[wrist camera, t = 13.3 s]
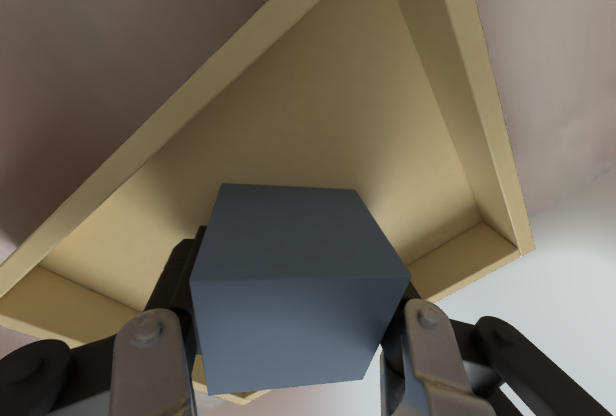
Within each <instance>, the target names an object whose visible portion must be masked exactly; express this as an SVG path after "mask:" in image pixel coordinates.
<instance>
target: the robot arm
mask: <svg viewBox="0 0 616 416" xmlns="http://www.w3.org/2000/svg"><path fill="white" fill-rule="evenodd" d="M206 228H207V225H200V226H199V228H198V231H197V233H196V236H195V239H183V240H182V241H181V242H179V243H178V244H177V245H176V246H175V247H174V248H173V250H172V252H171V254H170V256H169V258H168V261H167V262H166V264H165V266H164V270H163V271H162V273H161V275H160V277H159V279H158V281H157V283H156V285H155V288H154V290H153V292H152V294H151V296H150V298H149V300H148V302H147V304H146V306H145V309H144V310H143V312H142V313H140V314H138V315H136V316H135V317H133V318H132V319H130V320H129V321H128V322H127V323H126V324H125V325H124V326H123V327H122V328H121V329H120V330H119V332H118V333H117V334H114V335H112V336H110V337H107V338H104V339H101V340H98V341H95V342H91V343H88V344H85V345H82V346H78V347H75V348H72V349H70V347H69V346H68V345H67V344H66V343H65V342H64V341H62V340H58V339H45V340H40V341H36V342H33V343H30V344H28V345H25V346H23V347H21V348H19V349H17V350H15V351H13V352H11V353H10V354H8V355H7V356H5V357H4V358H2V359H1V360H0V416H198V413H197V406H196V400H195V393H194V387H193V381H192V370H193V366H194V362H195V357H196V355H201V350H200V344H199V338H198V332H197V326H196V320H195V314H194V308H193V302H192V296H191V290H190V284H189V279H190V276H191V273H192V270H193V267H194V264H195V261H196V258H197V255H198V252H199V249H200V246H201V243H202V240H203V237H204V234H205V231H206ZM380 344H381V346H382V349H383V350H382V352H381V355H380V385H381V386H380V387H381V416H523V415H522V414H521V413H520V411H519V410H518V409H517V408H516V407H515V406H514V404H513V403H512V402H511V401H510V400H509V399H508V398H507V396H506V395H505V394H504V393H503V392H502V391H501V390H500V388H499V387H500V386H501V385H503V384H504V383H505V382H506V383H507V384H508V385H509V386H510V387H511V388H512V389H513V391H514V392H515V393H516V394H517V395H518V396H519V397H520V398H521V399H522V401H523V402H524V403H525V404H526V405H527V406H528V407H529V408H530V409H531V410H532V412H533V413H534V414H535V415H536V416H613V415H612V414H610V412H608V411H607V410H606V409H605V408H604V407H603V406H602V405H601V404H599V403H598V402H597V401H596V400H595V399H594V398H593V397H592V396H590V395H589V394H588V393H587V392H586V391H585V390H584V389H583V388H582V387H580V386H579V385H578V384H577V383H576V382H575V381H574V380H573V379H572V378H571V377H569V376H568V375H567V374H566V373H565V372H564V371H563V370H561V369H560V368H559V367H558V366H557V365H556V364H555V363H554V362H553V361H552V360H550V359H549V358H548V357H547V356H546V355H545V354H544V353H543V352H541V351H540V350H539V349H538V348H537V347H536V346H535V345H534V344H533V343H531V342H530V341H529V340H528V339H527V338H526V337H525V336H524V335H522V334H521V333H520V332H519V331H518V330H517V329H515V328H514V327H513V326H512V325H510V324H508V323H507V322H505V321H503V320H501V319H499V318H496V317H492V316H484V317H481V318H480V319H479V320H478V322H477V323H476V324H475V325H472V324H468V323H464V322H460V321H456V320H452V319H449V318H448V316H447V315H446V314H445V313H444V312H443V311H442V310H441V309H440V308H439V307H438V306H436V305H435V304H433V303H431V302H429V301H427V300H423V299H422V298H421V297H420V295H419V294H418V292H417V290H416V289H415V287H414V286H413V284H412V282H411V281H409V283H408V285H407V288H406V290H405V292H404V294H403V296H402V298H401V300H400V302H399V304H398V306H397V308H396V311H395V313H394V315H393V317H392V319H391V321H390V323H389V325H388V327H387V329H386V331H385V333H384V336H383V338H382V340H381V342H380Z"/></svg>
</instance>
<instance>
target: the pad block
mask: <svg viewBox="0 0 616 416" xmlns="http://www.w3.org/2000/svg"><path fill="white" fill-rule="evenodd" d="M411 277H412V276H411V274H410V272H409V271H408V269H407V268H406V266H405V264H404V263H403V261H402V260H401V258H400V257H399V255H398V254H397V252H396V251H395V249H394V248H393V246H392V245H391V243H390V242H389V240H388V239H387V237H386V236H385V234H384V233H383V231H382V230H381V228H380V227H379V225H378V224H377V222H376V220H375V219H374V217H373V216H372V214H371V213H370V211H369V210H368V208H367V207H366V205H365V204H364V202H363V201H362V199H361V198H360V196H359V195H358V193H357V192H356V190H354V189H334V188H313V187H293V186H273V185H253V184H232V183H222V184H221V186H220V189H219V192H218V195H217V198H216V201H215V204H214V207H213V210H212V213H211V216H210V219H209V222H208V225H207V228H206V231H205V234H204V237H203V240H202V243H201V246H200V249H199V252H198V255H197V258H196V261H195V264H194V267H193V270H192V273H191V276H190V279H189V284H190V290H191V296H192V302H193V308H194V314H195V320H196V326H197V332H198V338H199V344H200V350H201V356H202V361H203V367H204V373H205V379H206V385H207V391H208V395H209V396H211V395H221V394H230V393H240V392H249V391H259V390H268V389H278V388H287V387H297V386H306V385H315V384H325V383H334V382H344V381H354V380H362V379H363V377H364V375H365V373H366V371H367V369H368V367H369V365H370V362H371V361H372V359H373V356H374V354H375V352H376V350H377V348H378V346H379V344H380V342H381V340H382V338H383V336H384V333H385V331H386V329H387V327H388V325H389V323H390V321H391V319H392V317H393V315H394V313H395V311H396V308H397V306H398V304H399V302H400V300H401V298H402V296H403V294H404V292H405V290H406V288H407V285H408V283H409V281H410V279H411Z"/></svg>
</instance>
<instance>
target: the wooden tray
mask: <svg viewBox="0 0 616 416" xmlns="http://www.w3.org/2000/svg"><path fill="white" fill-rule="evenodd" d="M222 183H232V184H253V185H273V186H293V187H313V188H334V189H354V190H356V192H357V193H358V195H359V196H360V198H361V199H362V201H363V202H364V204H365V205H366V207H367V208H368V210H369V211H370V213H371V214H372V216H373V217H374V219H375V220H376V222H377V224H378V225H379V227H380V228H381V230H382V231H383V233H384V234H385V236H386V237H387V239H388V240H389V242H390V243H391V245H392V246H393V248H394V249H395V251H396V252H397V254H398V255H399V257H400V258H401V260H402V261H403V263H404V264H405V266H406V268H407V269H408V271H409V272H410V274H411V276H412V277H411V279H410V281H411V282H412V284H413V286H414V287H415V289H416V290H417V292H418V294H419V295H420V297H421V298H422V299H423V300H427V301H429V302H431V303H435V302H437V301H439V300H441V299H442V298H444V297H446V296H448V295H450V294H452V293H454V292H456V291H457V290H459V289H461V288H463V287H465V286H467V285H469V284H470V283H472V282H474V281H476V280H478V279H480V278H482V277H483V276H485V275H487V274H489V273H491V272H493V271H495V270H497V269H498V268H500V267H502V266H504V265H506V264H508V263H510V262H511V261H513V260H515V259H517V258H519V257H520V255H521V256H523V255H525V254H527V253H529V252H531V251H533V250H534V249H535V245H534V241H533V237H532V233H531V229H530V224H529V220H528V216H527V212H526V208H525V203H524V199H523V195H522V191H521V187H520V183H519V178H518V174H517V170H516V166H515V162H514V158H513V154H512V149H511V145H510V141H509V137H508V133H507V129H506V124H505V120H504V116H503V112H502V108H501V104H500V100H499V95H498V91H497V87H496V83H495V79H494V75H493V70H492V66H491V62H490V58H489V54H488V50H487V45H486V41H485V37H484V33H483V29H482V25H481V21H480V16H479V12H478V8H477V4H476V0H268V1H267V2H266V3H265V4H264V5H263V6H262V7H261V8H260V9H259V10H258V11H257V12H256V13H255V14H254V15H253V16H252V17H251V18H250V19H249V20H248V21H247V22H246V23H245V24H244V25H243V26H242V27H241V28H240V29H239V30H238V31H237V32H236V33H235V34H234V35H233V36H232V37H231V38H230V39H229V40H228V41H227V42H226V43H225V44H224V45H223V46H222V47H221V48H219V49H218V50H217V51H216V52H215V53H214V54H213V55H212V56H211V57H210V58H209V59H208V60H207V61H206V62H205V63H204V64H203V65H202V66H201V67H200V68H199V69H198V70H197V71H196V72H195V73H194V74H193V75H192V76H191V77H190V78H189V79H188V80H187V81H186V82H185V83H184V84H183V85H182V86H181V87H180V88H179V89H178V90H177V91H176V92H175V93H174V94H173V95H172V96H171V97H170V98H169V99H168V100H167V101H166V102H165V103H164V104H163V105H162V106H161V107H160V108H159V109H158V110H157V111H156V112H155V113H154V114H153V115H152V116H151V117H150V118H149V119H148V120H147V121H146V122H145V123H144V124H142V125H141V126H140V127H139V128H138V129H137V130H136V131H135V132H134V133H133V134H132V135H131V136H130V137H129V138H128V139H127V140H126V141H125V142H124V143H123V144H122V145H121V146H120V147H119V148H118V149H117V150H116V151H115V152H114V153H113V154H112V155H111V156H110V157H109V158H108V159H107V160H106V161H105V162H104V163H103V164H102V165H101V166H100V167H99V168H98V169H97V170H96V171H95V172H94V173H93V174H92V175H91V176H90V177H89V178H88V179H87V180H86V181H85V182H84V183H83V184H82V185H81V186H80V187H79V188H78V189H77V190H76V191H75V192H74V193H73V194H72V195H71V196H70V197H69V198H68V199H66V200H65V201H64V202H63V203H62V204H61V205H60V206H59V207H58V208H57V209H56V210H55V211H54V212H53V213H52V214H51V215H50V216H49V217H48V218H47V219H46V220H45V221H44V222H43V223H42V224H41V225H40V226H39V227H38V228H37V229H36V230H35V231H34V232H33V233H32V234H31V235H30V236H29V237H28V238H27V239H26V240H25V241H24V242H23V243H22V244H21V245H20V246H19V247H18V248H17V249H16V250H15V251H14V252H13V253H12V254H11V255H10V256H9V257H8V258H7V259H6V260H5V261H4V262H3V263H2V264H1V265H0V326H3V327H6V328H9V329H12V330H15V331H18V332H22V333H25V334H28V335H31V336H34V337H37V338H40V339H43V340H45V339H58V340H62V341H64V342H65V343H66V344H67V345H68V346H69V347H70V349H72V348H75V347H78V346H82V345H85V344H88V343H91V342H95V341H98V340H101V339H104V338H107V337H110V336H112V335H114V334H117V333H118V332H119V330H120V329H121V328H122V327H123V326H124V325H125V324H126V323H127V322H128V321H129V320H130V319H132V318H133V317H135V316H136V315H138V314H140V313H142V312H143V310H144V309H145V306H146V304H147V302H148V300H149V298H150V296H151V294H152V292H153V290H154V288H155V285H156V283H157V281H158V279H159V277H160V275H161V273H162V271H163V270H164V266H165V264H166V262H167V261H168V258H169V256H170V254H171V252H172V250H173V248H174V247H175V246H176V245H177V244H178V243H179V242H181V241H182V240H183V239H195V236H196V233H197V231H198V228H199V226H200V225H208V222H209V219H210V216H211V213H212V210H213V207H214V204H215V201H216V198H217V195H218V192H219V189H220V186H221V184H222ZM192 381H193V387H194V390H197V391H200V392H204V393H207V394H208V391H207V385H206V379H205V373H204V367H203V361H202V356H201V355H196V357H195V362H194V366H193V370H192ZM271 390H272V389H268V390H259V391H249V392H240V393H230V394H221V395H213V396H216V397H219V398H222V399H225V400H228V401H231V402H234V403H237V404H240V405H244V404H246V403H248V402H250V401H252V400H254V399H256V398H257V397H260V396H261V395H263V394H265V393H267V392H269V391H271Z"/></svg>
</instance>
